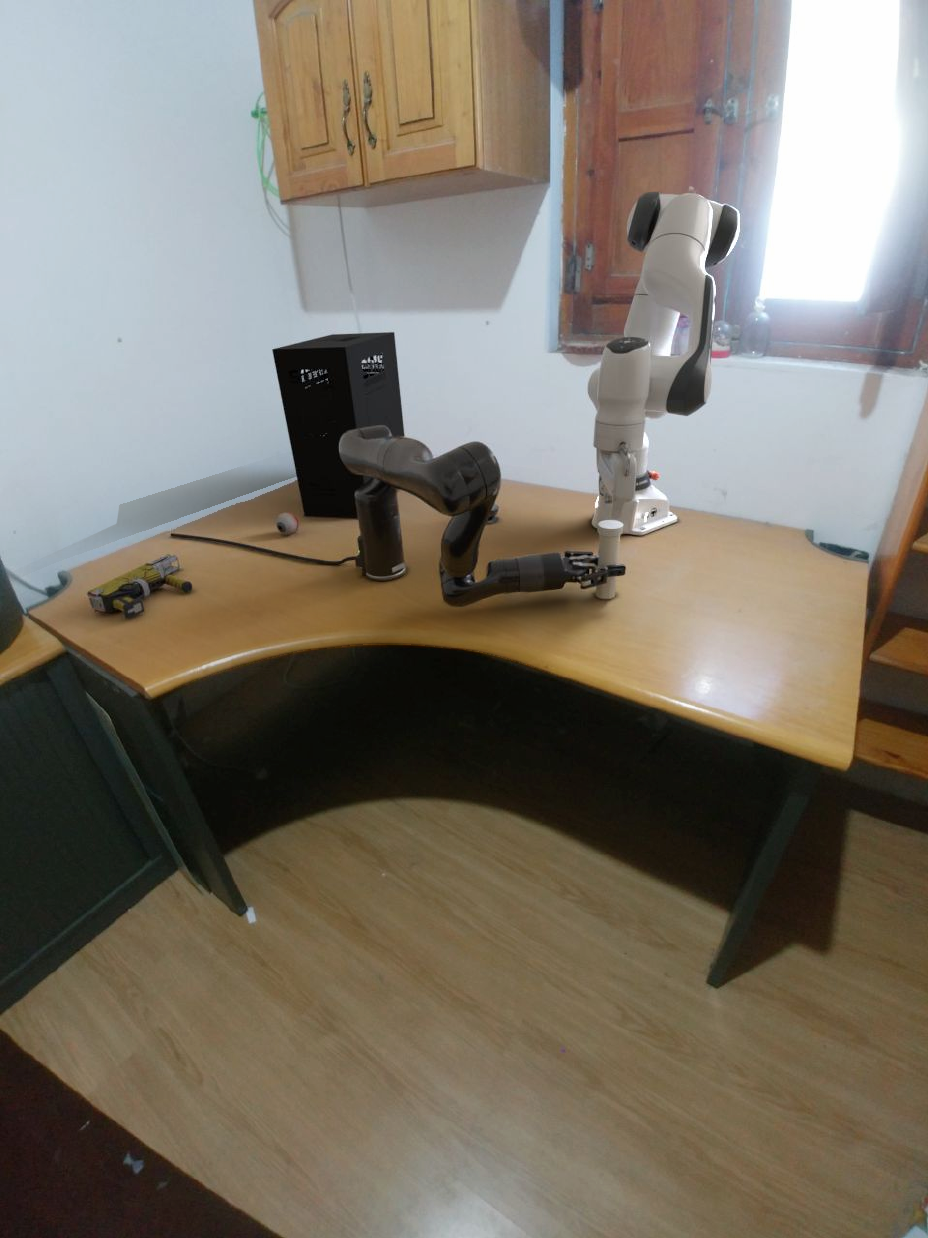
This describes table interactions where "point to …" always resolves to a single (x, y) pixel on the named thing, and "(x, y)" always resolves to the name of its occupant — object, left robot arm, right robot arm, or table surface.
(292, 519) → the eyeball
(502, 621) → the table surface
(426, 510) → the table surface
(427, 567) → the table surface
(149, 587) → the toy gun
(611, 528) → the lid
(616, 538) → the bottle
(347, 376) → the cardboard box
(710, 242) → the right robot arm
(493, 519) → the grey chess piece
